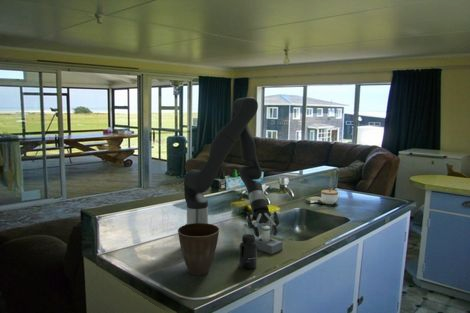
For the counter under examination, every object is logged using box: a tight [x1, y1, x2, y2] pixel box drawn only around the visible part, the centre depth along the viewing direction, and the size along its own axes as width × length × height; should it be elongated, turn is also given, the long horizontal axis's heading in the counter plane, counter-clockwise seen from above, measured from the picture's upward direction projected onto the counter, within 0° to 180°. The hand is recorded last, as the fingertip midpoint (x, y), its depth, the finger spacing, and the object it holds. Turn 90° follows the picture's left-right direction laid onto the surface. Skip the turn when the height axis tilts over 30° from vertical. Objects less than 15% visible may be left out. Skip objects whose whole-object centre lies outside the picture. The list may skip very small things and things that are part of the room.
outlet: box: [254, 234, 283, 255], centre depth 156 cm, size 7×13×4 cm, turn 46°
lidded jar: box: [320, 188, 339, 205], centre depth 235 cm, size 11×11×9 cm
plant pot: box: [177, 223, 220, 276], centre depth 132 cm, size 15×15×16 cm
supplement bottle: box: [238, 233, 258, 271], centre depth 137 cm, size 7×7×12 cm
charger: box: [261, 224, 271, 243], centre depth 156 cm, size 4×4×10 cm
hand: (266, 235), depth 154 cm, fingers open, 7 cm apart
